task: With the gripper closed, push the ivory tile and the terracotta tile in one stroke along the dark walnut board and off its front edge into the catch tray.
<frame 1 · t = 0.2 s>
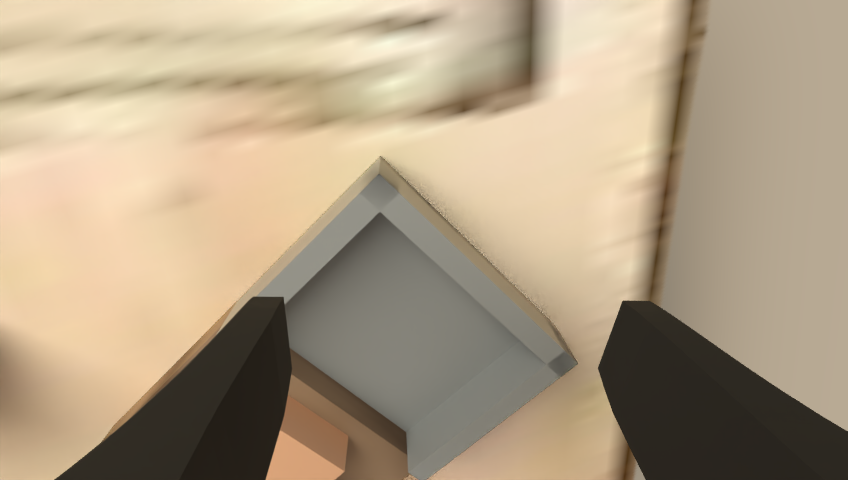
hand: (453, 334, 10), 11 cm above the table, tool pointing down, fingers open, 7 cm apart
terracotta tile: (288, 438, 22), point 2 cm above the table, touching walnut board
walnut board: (271, 430, 24), on the table
catch tray: (402, 314, 22), on the table
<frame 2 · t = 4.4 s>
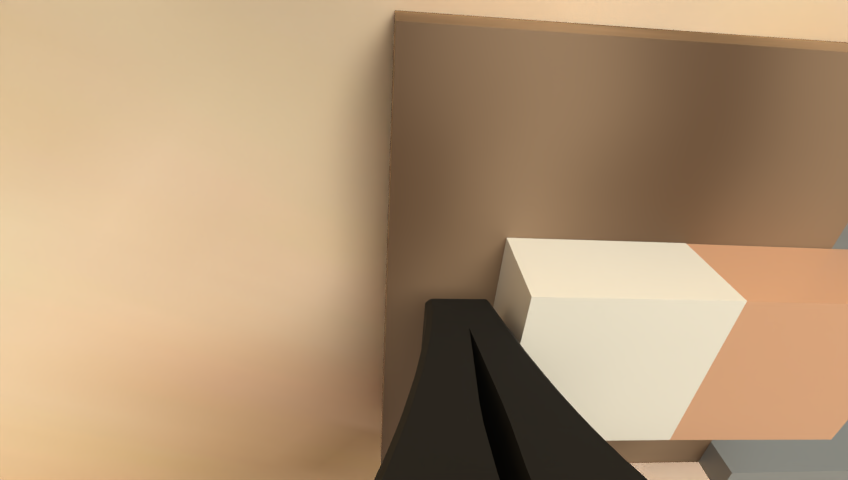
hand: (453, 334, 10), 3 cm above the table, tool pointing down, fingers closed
terracotta tile: (732, 315, 11), point 2 cm above the table, touching ivory tile, walnut board
walnut board: (568, 265, 13), on the table
ivory tile: (575, 312, 11), point 2 cm above the table, touching gripper, terracotta tile
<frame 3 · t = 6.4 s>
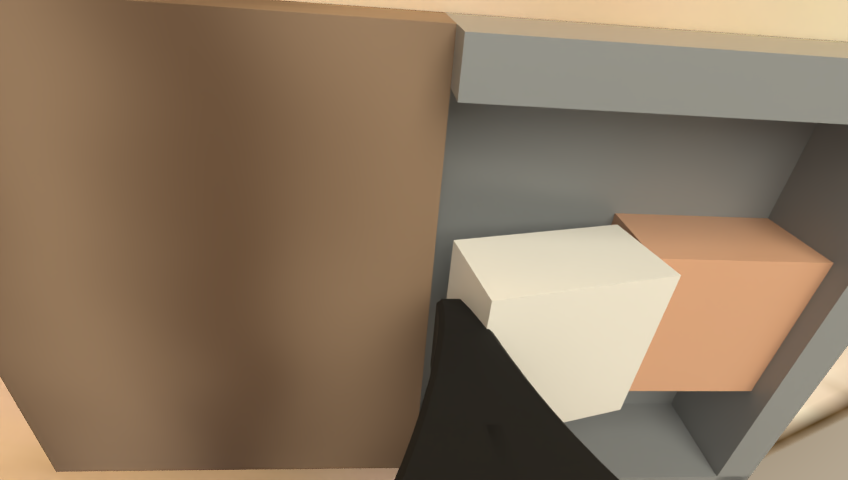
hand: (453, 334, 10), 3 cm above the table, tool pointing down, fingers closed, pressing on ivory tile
terracotta tile: (665, 281, 12), point 1 cm above the table, touching catch tray, ivory tile
walnut board: (230, 257, 12), on the table
ivory tile: (523, 303, 11), point 2 cm above the table, tilted 13°, touching gripper, terracotta tile
catch tray: (595, 267, 12), on the table
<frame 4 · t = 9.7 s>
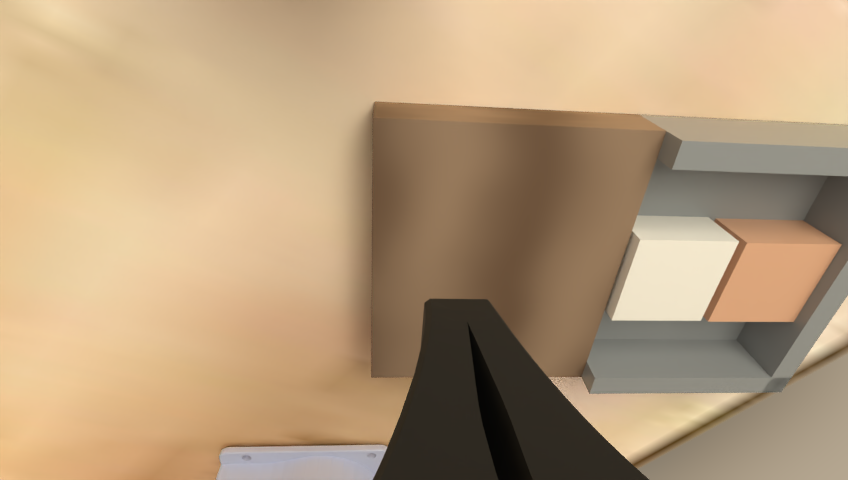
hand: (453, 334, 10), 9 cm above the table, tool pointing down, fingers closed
terracotta tile: (740, 258, 20), resting on catch tray
walnut board: (488, 245, 20), on the table
ivory tile: (648, 255, 20), resting on catch tray
catch tray: (698, 250, 21), on the table
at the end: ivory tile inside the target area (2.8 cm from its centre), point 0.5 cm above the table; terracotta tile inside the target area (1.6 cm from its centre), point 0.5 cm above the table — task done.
